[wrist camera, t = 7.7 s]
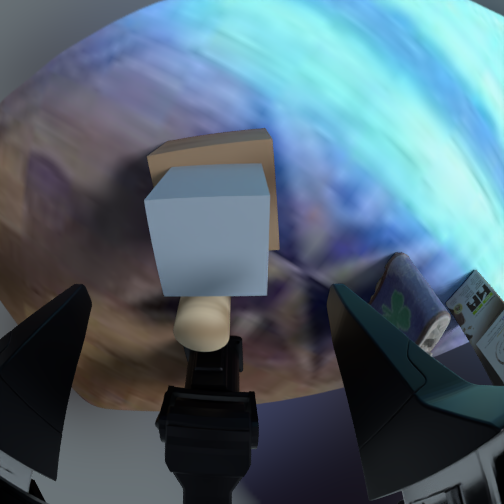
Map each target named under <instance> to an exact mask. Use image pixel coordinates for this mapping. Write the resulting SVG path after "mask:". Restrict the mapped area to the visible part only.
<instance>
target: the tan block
mask: <svg viewBox="0 0 504 504" xmlns="http://www.w3.org/2000/svg"><path fill="white" fill-rule="evenodd" d="M147 159H148V164H149V169H150V173H151V178H152V182H153V187H155V186H156V185H157V184H158V183H159V181H160V180H161V179H162V178H163V176H164V175H165V174H166V173H167V172H168V171H169V169H170V168H171V167H179V166H194V165H214V164H250V163H261V164H262V167H263V171H264V175H265V178H266V182H267V186H268V189H269V193H270V218H269V250H279V232H278V214H277V198H276V182H275V168H274V154H273V141H272V138H271V136H270V135H269V133H268V132H267V130H266V129H265V128H261V129H250V130H240V131H231V132H223V133H215V134H208V135H201V136H195V137H189V138H183V139H177V140H172V141H167V142H166V143H164V144H163V145H162V146H160V147H159V148H157V149H156V150H155V151H153V152H152V153H151V154H149V155H148V156H147Z"/></svg>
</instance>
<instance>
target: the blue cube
mask: <svg viewBox="0 0 504 504" xmlns="http://www.w3.org/2000/svg"><path fill="white" fill-rule="evenodd" d="M144 203H145V209H146V214H147V220H148V225H149V231H150V236H151V241H152V246H153V250H154V255H155V260H156V264H157V269H158V273H159V277H160V281H161V286H162V290H163V294H164V296H259V295H267V279H268V251H269V218H270V193H269V189H268V186H267V182H266V178H265V175H264V171H263V167H262V164H261V163H250V164H214V165H194V166H179V167H171V168H170V169H169V171H168V172H167V173H166V174H165V175H164V176H163V178H162V179H161V180H160V181H159V183H158V184H157V185H156V186H155V187H154V189H153V190H152V191H151V192H150V194H149V195H148V196H147V197H146V199H145V200H144Z"/></svg>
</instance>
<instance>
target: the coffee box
mask: <svg viewBox="0 0 504 504" xmlns="http://www.w3.org/2000/svg"><path fill="white" fill-rule="evenodd" d="M446 306H447V307H448V309H449V310H450V312H451V313H452V315H453V316H454V318H455V319H456V321H457V323H458V324H459V326H460V327H461V329H462V330H463V332H464V334H465V335H466V337H467V339H468V340H469V342H470V343H471V345H472V347H473V348H474V350H475V352H476V354H477V356H478V357H479V359H480V361H481V362H482V365H483V366H484V368H485V370H486V372H487V374H488V376H489V378H490V380H491V382H492V384H493V386H504V301H503V300H502V299H501V298H500V296H499V295H498V294H497V293H496V292H495V291H494V289H493V288H492V287H491V286H490V285H489V283H488V282H487V281H486V280H485V279H484V278H483V277H482V276H481V274H480V273H479V272H478V271H477V270H474V272H473V273H472V274H471V275H470V276H469V278H468V279H467V280H466V281H465V282H464V283H463V285H462V286H461V287H460V288H459V289H458V290H457V291H456V292H455V293H454V295H453V296H452V297H451V298H450V299H449V300H448V301H447V302H446Z"/></svg>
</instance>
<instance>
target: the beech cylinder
mask: <svg viewBox="0 0 504 504" xmlns="http://www.w3.org/2000/svg"><path fill="white" fill-rule="evenodd" d="M230 303H231V296H181V298H180V302H179V306H178V311H177V315H176V319H175V324H174V328H173V333H174V336H175V338H176V340H177V341H178V342H179V343H180V344H182V345H183V346H185V347H186V348H189V349H191V350H195V351H200V352H211V351H215V350H218V349H220V348H222V347H224V346H225V345H226V344H227V342H228V341H229V334H230Z"/></svg>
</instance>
